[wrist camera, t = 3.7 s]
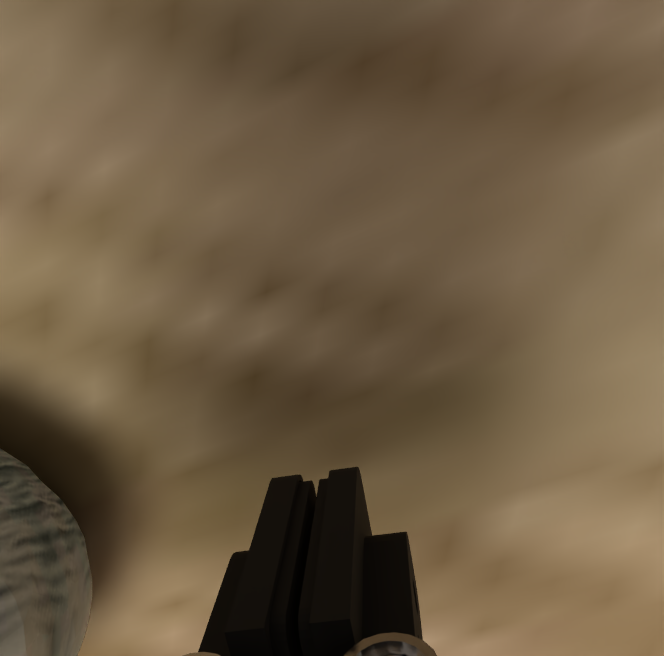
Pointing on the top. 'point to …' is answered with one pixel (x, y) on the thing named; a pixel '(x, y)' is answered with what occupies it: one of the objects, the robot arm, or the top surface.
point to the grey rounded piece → (40, 568)
